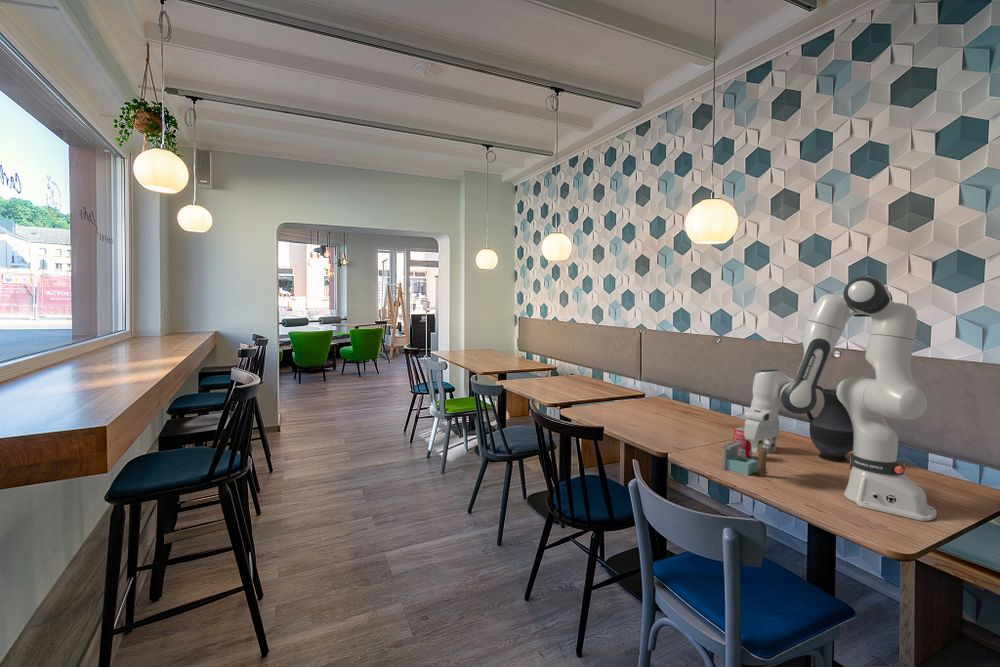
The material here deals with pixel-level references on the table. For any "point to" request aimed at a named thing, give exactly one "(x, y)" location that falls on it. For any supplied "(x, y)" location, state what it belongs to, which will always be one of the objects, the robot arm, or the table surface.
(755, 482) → the table surface
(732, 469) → the socket station
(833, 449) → the pitcher
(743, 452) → the soda can
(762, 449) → the peg
